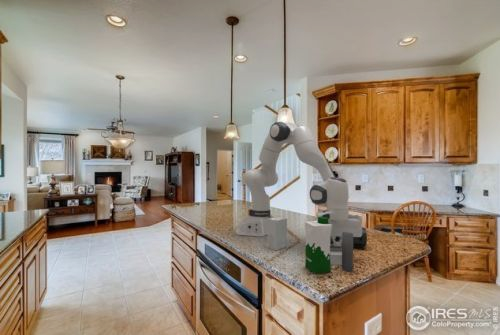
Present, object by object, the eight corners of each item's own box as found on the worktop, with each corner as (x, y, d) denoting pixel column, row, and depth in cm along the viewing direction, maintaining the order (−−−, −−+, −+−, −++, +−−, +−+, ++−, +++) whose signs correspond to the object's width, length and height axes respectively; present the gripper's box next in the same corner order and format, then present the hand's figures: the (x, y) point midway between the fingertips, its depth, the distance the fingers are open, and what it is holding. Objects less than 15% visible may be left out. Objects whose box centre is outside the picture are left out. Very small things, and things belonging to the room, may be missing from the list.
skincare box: (278, 244, 122) (278, 215, 122) (287, 247, 117) (287, 217, 118) (266, 248, 116) (267, 217, 117) (275, 251, 112) (276, 219, 112)
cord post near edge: (344, 271, 90) (344, 234, 90) (340, 267, 94) (340, 232, 94) (354, 271, 90) (354, 235, 90) (350, 267, 94) (350, 232, 94)
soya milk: (334, 273, 89) (334, 219, 89) (312, 275, 87) (312, 220, 87) (322, 264, 97) (322, 215, 97) (301, 265, 95) (302, 216, 95)
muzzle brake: (366, 251, 114) (367, 229, 114) (307, 245, 122) (307, 225, 122) (363, 245, 123) (363, 225, 123) (308, 240, 131) (308, 221, 132)
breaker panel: (324, 264, 97) (324, 250, 97) (316, 252, 111) (316, 240, 111) (351, 265, 96) (352, 251, 96) (340, 253, 110) (340, 241, 110)
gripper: (358, 213, 106) (358, 244, 106) (312, 212, 107) (312, 243, 106) (365, 216, 99) (364, 249, 99) (316, 215, 100) (315, 248, 100)
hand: (337, 246), depth 103 cm, fingers closed
